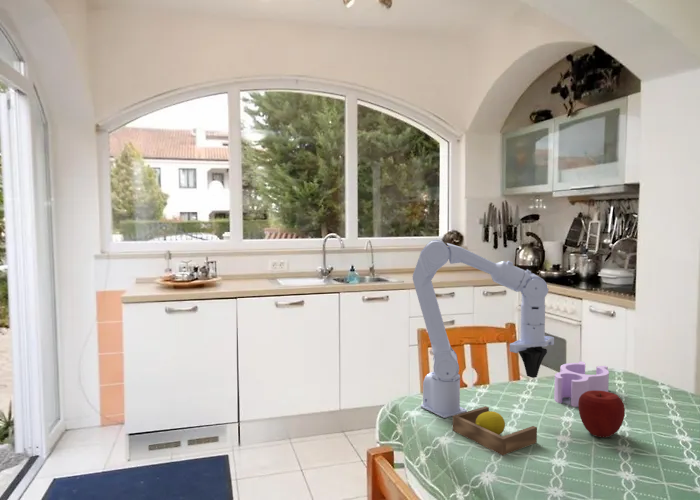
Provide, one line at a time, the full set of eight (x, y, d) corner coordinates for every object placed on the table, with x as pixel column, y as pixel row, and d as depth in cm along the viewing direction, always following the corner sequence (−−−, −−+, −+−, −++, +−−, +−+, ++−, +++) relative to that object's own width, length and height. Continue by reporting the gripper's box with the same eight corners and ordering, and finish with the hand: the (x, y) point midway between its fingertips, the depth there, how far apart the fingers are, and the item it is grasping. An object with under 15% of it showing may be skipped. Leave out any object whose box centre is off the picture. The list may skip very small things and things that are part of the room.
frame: (452, 430, 120) (452, 415, 120) (485, 420, 126) (485, 406, 125) (502, 455, 107) (502, 439, 107) (536, 442, 113) (537, 427, 113)
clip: (589, 411, 131) (590, 385, 131) (542, 399, 140) (542, 374, 140) (616, 392, 145) (616, 368, 145) (571, 382, 154) (572, 359, 154)
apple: (580, 422, 124) (581, 382, 123) (624, 430, 119) (626, 388, 118) (575, 437, 116) (576, 394, 115) (623, 446, 111) (624, 401, 110)
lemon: (515, 422, 115) (488, 425, 111) (506, 440, 117) (479, 444, 113) (500, 404, 119) (474, 407, 116) (491, 422, 122) (465, 425, 118)
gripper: (526, 329, 120) (525, 386, 121) (565, 322, 128) (563, 375, 128) (503, 324, 126) (502, 378, 127) (541, 317, 133) (540, 368, 134)
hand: (531, 376), depth 128 cm, fingers closed
